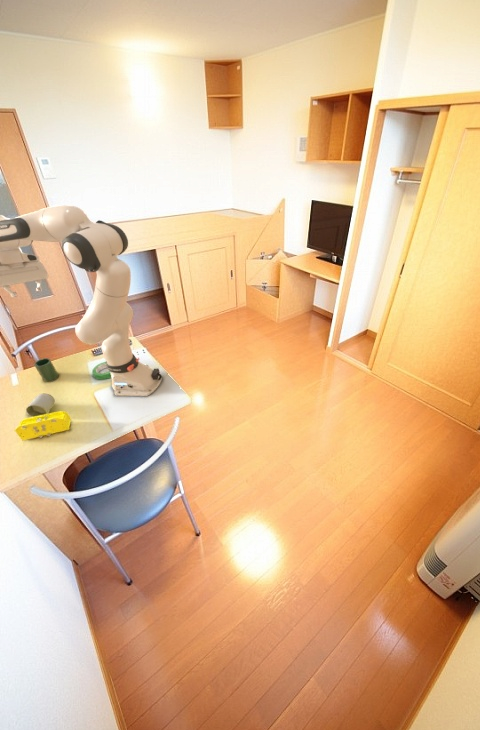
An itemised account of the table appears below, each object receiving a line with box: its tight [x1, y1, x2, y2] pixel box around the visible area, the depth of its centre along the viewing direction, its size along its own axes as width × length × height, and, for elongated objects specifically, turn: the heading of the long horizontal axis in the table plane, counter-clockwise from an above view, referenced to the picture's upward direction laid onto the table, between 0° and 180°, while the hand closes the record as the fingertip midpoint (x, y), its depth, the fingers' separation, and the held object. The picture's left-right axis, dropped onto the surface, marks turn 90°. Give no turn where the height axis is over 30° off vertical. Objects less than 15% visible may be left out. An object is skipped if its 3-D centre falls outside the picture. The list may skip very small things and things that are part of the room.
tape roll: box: [92, 361, 111, 380], centre depth 145 cm, size 11×11×3 cm
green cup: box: [33, 357, 59, 383], centre depth 139 cm, size 6×6×10 cm
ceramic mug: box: [25, 393, 56, 417], centre depth 122 cm, size 11×8×8 cm
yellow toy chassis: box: [14, 410, 72, 441], centre depth 114 cm, size 16×6×8 cm, turn 110°
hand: (27, 294), depth 120 cm, fingers open, 8 cm apart
